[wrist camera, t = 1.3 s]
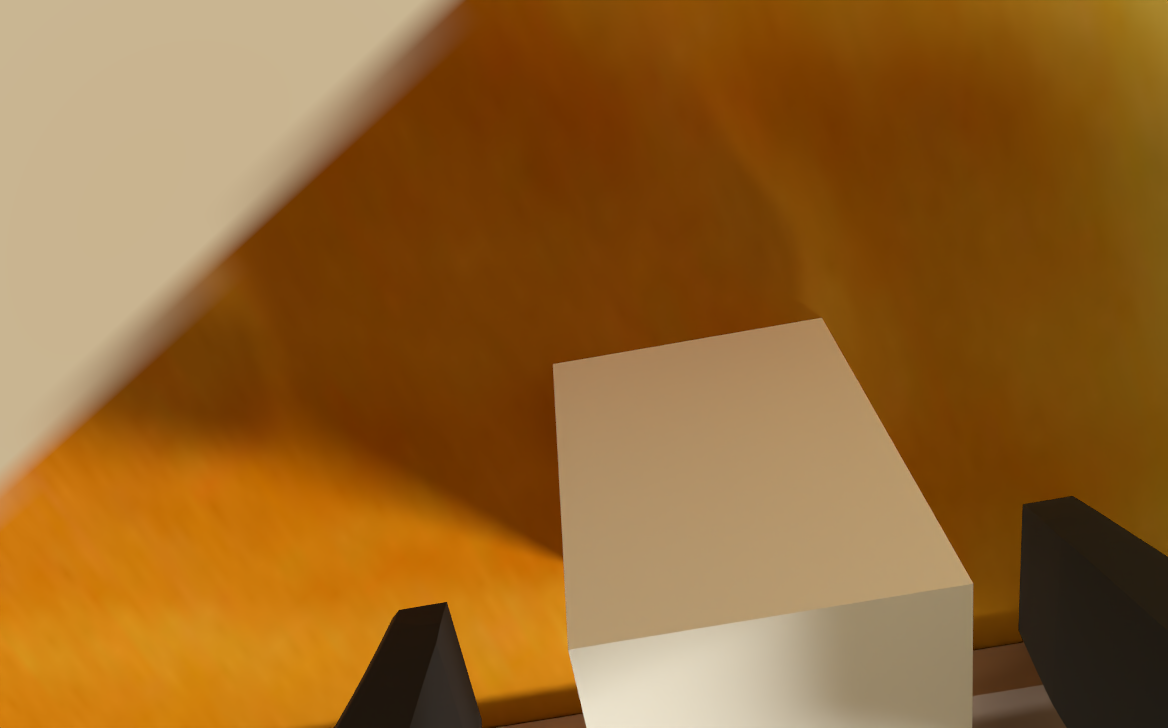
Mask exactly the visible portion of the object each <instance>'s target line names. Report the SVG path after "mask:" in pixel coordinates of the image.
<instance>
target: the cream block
mask: <svg viewBox="0 0 1168 728" xmlns="http://www.w3.org/2000/svg"><path fill="white" fill-rule="evenodd" d="M553 377H554V395H555V414H556V432H557V450H558V469H559V487H560V506H561V524H562V542H563V561H564V579H565V597H566V616H567V634H568V650H569V655H570V659H571V663H572V668H573V672H574V676H575V681H576V685H577V689H578V693H579V698H580V702H581V706H582V711H583V715H584V719H585V724H586V728H972V696H973V582H972V580H971V579H970V577H969V575H968V573H967V572H966V570H965V568H964V566H963V565H962V563H961V561H960V559H959V558H958V556H957V554H956V552H955V551H954V549H953V547H952V545H951V544H950V542H949V540H948V538H947V537H946V535H945V533H944V531H943V530H942V528H941V526H940V524H939V523H938V521H937V519H936V517H935V516H934V514H933V512H932V510H931V509H930V507H929V505H928V503H927V501H926V500H925V498H924V496H923V494H922V493H921V491H920V489H919V487H918V486H917V484H916V482H915V480H914V479H913V477H912V475H911V473H910V472H909V470H908V468H907V466H906V465H905V463H904V461H903V459H902V458H901V456H900V454H899V452H898V451H897V449H896V447H895V445H894V444H893V442H892V440H891V438H890V437H889V435H888V433H887V431H886V429H885V428H884V426H883V424H882V422H881V421H880V419H879V417H878V415H877V414H876V412H875V410H874V408H873V407H872V405H871V403H870V401H869V400H868V398H867V396H866V394H865V393H864V391H863V389H862V387H861V386H860V384H859V382H858V380H857V379H856V377H855V375H854V373H853V372H852V370H851V368H850V366H849V365H848V363H847V361H846V359H845V357H844V356H843V354H842V352H841V350H840V349H839V347H838V345H837V343H836V342H835V340H834V338H833V336H832V335H831V333H830V331H829V329H828V328H827V326H826V324H825V322H824V321H823V319H822V318H817V319H811V320H806V321H800V322H794V323H788V324H783V325H777V326H771V327H765V328H759V329H754V330H748V331H742V332H736V333H730V334H725V335H719V336H713V337H707V338H702V339H696V340H690V341H684V342H678V343H673V344H667V345H661V346H655V347H649V348H644V349H638V350H632V351H626V352H621V353H615V354H609V355H603V356H597V357H592V358H586V359H580V360H574V361H568V362H563V363H557V364H553Z"/></svg>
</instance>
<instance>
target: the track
mask: <svg viewBox="0 0 1168 728" xmlns="http://www.w3.org/2000/svg"><path fill="white" fill-rule="evenodd" d="M498 728H586V724H585V719H584V715H583V714H578V715H572V716H566V717H559V718H553V719H547V720H541V721H535V722H529V723H522V724H516V725H510V726H504V727H498ZM972 728H1066V726H1065V724H1064V723H1063V721H1062V720H1061V718H1060V716H1059V715H1058V713H1057V711H1056V710H1055V708H1054V706H1053V705H1052V703H1051V700H1050V698H1049V696H1048V694H1047V692H1046V690H1045V688H1044V686H1043V684H1042V681H1041V679H1040V677H1039V675H1038V673H1037V671H1036V669H1035V666H1034V664H1033V662H1032V660H1031V657H1030V655H1029V653H1028V651H1027V648H1026V646H1025V644H1024V642H1023V643H1017V644H1011V645H1005V646H998V647H992V648H986V649H980V650H974V651H973V696H972Z"/></svg>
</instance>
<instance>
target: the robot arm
mask: <svg viewBox="0 0 1168 728" xmlns="http://www.w3.org/2000/svg"><path fill="white" fill-rule="evenodd" d="M1019 632H1020V635H1021V637H1022V639H1023V641H1024V644H1025V646H1026V648H1027V651H1028V653H1029V655H1030V657H1031V660H1032V662H1033V664H1034V666H1035V669H1036V671H1037V673H1038V675H1039V677H1040V679H1041V681H1042V684H1043V686H1044V688H1045V690H1046V692H1047V694H1048V696H1049V698H1050V700H1051V703H1052V705H1053V706H1054V708H1055V710H1056V711H1057V713H1058V715H1059V716H1060V718H1061V720H1062V721H1063V723H1064V724H1065V726H1066V728H1168V557H1167V556H1166V555H1164V554H1162V553H1161V552H1159V551H1158V550H1156V549H1155V548H1153V547H1152V546H1150V545H1148V544H1147V543H1145V542H1144V541H1142V540H1141V539H1139V538H1138V537H1136V536H1134V535H1133V534H1131V533H1130V532H1128V531H1127V530H1125V529H1124V528H1122V527H1121V526H1119V525H1118V524H1116V523H1114V522H1113V521H1111V520H1110V519H1108V518H1107V517H1105V516H1104V515H1102V514H1101V513H1099V512H1097V511H1096V510H1094V509H1093V508H1091V507H1090V506H1088V505H1086V504H1085V503H1083V502H1081V501H1080V500H1078V499H1077V498H1075V497H1073V496H1070V497H1064V498H1058V499H1052V500H1046V501H1040V502H1034V503H1028V504H1023V512H1022V542H1021V571H1020V600H1019ZM334 728H482V720H481V716H480V713H479V709H478V706H477V702H476V699H475V696H474V692H473V689H472V686H471V682H470V679H469V675H468V672H467V669H466V665H465V662H464V659H463V655H462V652H461V648H460V645H459V642H458V638H457V635H456V632H455V628H454V625H453V621H452V618H451V615H450V611H449V608H448V605H447V602H444V603H438V604H432V605H426V606H420V607H414V608H409V609H403V610H399V611H398V612H397V613H396V615H395V616H394V617H393V619H392V621H391V623H390V625H389V627H388V629H387V631H386V633H385V635H384V637H383V639H382V641H381V643H380V645H379V647H378V649H377V651H376V653H375V654H374V656H373V658H372V660H371V662H370V664H369V666H368V668H367V670H366V672H365V674H364V675H363V677H362V679H361V681H360V683H359V685H358V687H357V688H356V690H355V692H354V694H353V696H352V698H351V699H350V701H349V703H348V705H347V706H346V708H345V710H344V712H343V713H342V715H341V717H340V719H339V720H338V722H337V724H336V725H335V727H334Z"/></svg>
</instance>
